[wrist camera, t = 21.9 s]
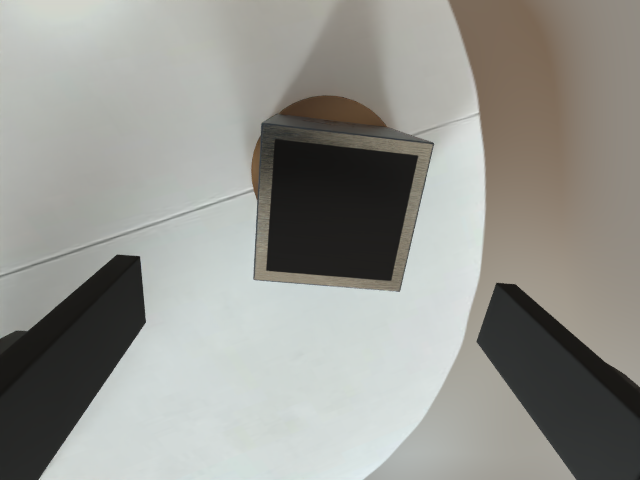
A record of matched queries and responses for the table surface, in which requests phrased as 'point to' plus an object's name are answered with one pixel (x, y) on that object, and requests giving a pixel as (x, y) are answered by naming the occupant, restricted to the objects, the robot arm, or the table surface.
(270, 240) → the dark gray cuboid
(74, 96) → the table surface
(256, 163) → the cork trivet
